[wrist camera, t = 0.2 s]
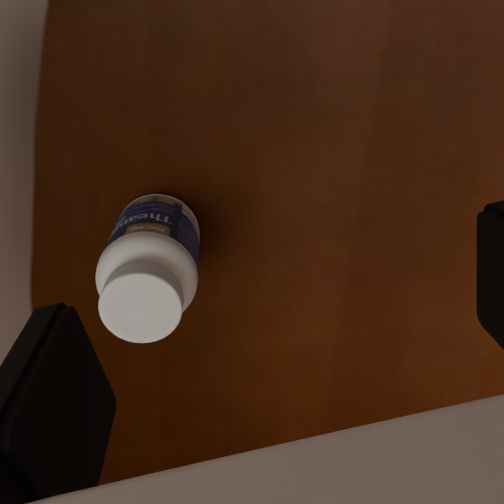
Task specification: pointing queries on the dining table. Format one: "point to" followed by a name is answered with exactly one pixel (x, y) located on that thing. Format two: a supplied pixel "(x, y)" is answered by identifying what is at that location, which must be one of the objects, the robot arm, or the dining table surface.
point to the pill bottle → (149, 269)
